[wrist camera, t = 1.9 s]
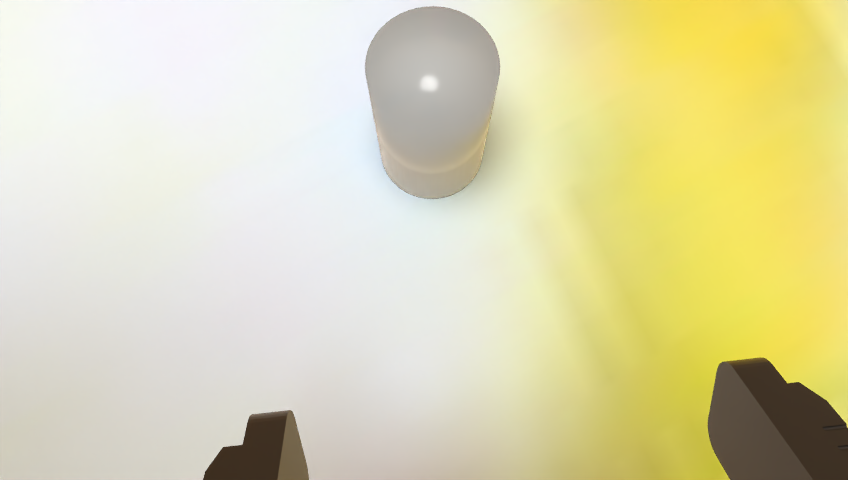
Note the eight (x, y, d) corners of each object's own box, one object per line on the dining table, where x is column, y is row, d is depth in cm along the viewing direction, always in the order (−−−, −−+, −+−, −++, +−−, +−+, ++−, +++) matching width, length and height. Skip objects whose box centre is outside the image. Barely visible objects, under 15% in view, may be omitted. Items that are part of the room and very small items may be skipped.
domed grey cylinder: (386, 204, 29) (371, 134, 22) (376, 109, 30) (359, 13, 23) (489, 192, 29) (508, 120, 22) (475, 98, 30) (490, -1, 23)
